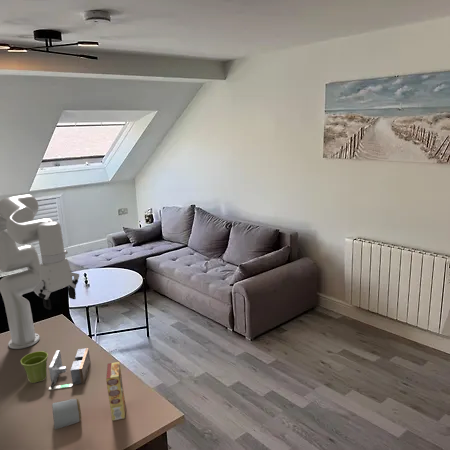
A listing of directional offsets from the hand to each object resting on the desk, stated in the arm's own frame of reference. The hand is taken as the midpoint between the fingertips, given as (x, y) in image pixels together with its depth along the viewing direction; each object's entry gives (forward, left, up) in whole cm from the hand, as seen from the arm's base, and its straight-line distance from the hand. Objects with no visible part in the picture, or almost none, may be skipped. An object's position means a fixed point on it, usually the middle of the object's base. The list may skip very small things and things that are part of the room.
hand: (60, 303), depth 148 cm
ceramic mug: (+24, +3, -31) cm, 39 cm away
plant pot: (-3, -13, -31) cm, 33 cm away
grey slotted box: (-3, -1, -30) cm, 30 cm away
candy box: (+23, +19, -31) cm, 42 cm away
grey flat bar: (-2, -5, -30) cm, 30 cm away
